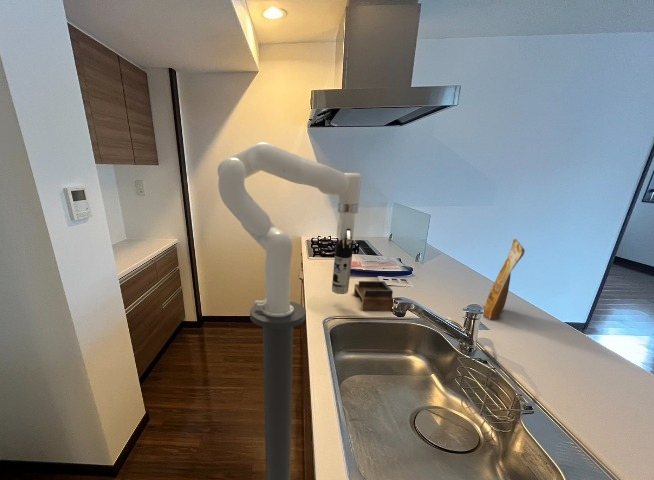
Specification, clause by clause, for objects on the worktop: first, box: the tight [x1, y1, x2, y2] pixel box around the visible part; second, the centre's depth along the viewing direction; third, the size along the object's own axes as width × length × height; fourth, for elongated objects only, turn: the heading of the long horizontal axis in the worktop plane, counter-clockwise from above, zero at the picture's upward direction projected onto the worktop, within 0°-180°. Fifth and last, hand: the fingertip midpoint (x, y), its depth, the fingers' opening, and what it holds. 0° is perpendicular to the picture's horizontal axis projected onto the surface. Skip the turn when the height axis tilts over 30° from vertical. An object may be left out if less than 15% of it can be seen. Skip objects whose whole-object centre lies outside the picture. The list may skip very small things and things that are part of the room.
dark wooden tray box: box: [353, 280, 395, 312], centre depth 135 cm, size 12×18×7 cm, turn 177°
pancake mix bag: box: [484, 238, 525, 320], centre depth 119 cm, size 7×19×28 cm, turn 145°
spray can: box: [331, 241, 354, 295], centre depth 127 cm, size 7×7×20 cm
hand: (343, 255), depth 125 cm, fingers closed on spray can, 6 cm apart
